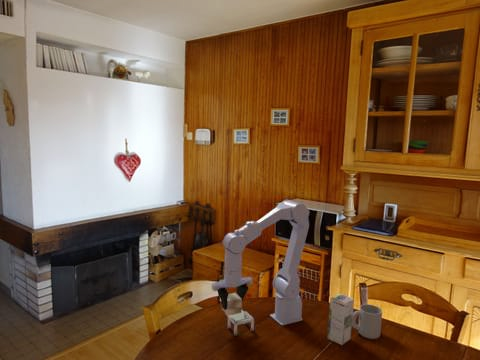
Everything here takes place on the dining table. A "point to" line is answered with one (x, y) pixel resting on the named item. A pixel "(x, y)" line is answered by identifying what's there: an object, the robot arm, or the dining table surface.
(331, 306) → the syrup box
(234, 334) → the small white stool
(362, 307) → the cup
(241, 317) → the end pad
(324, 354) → the dining table surface
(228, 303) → the birch block
